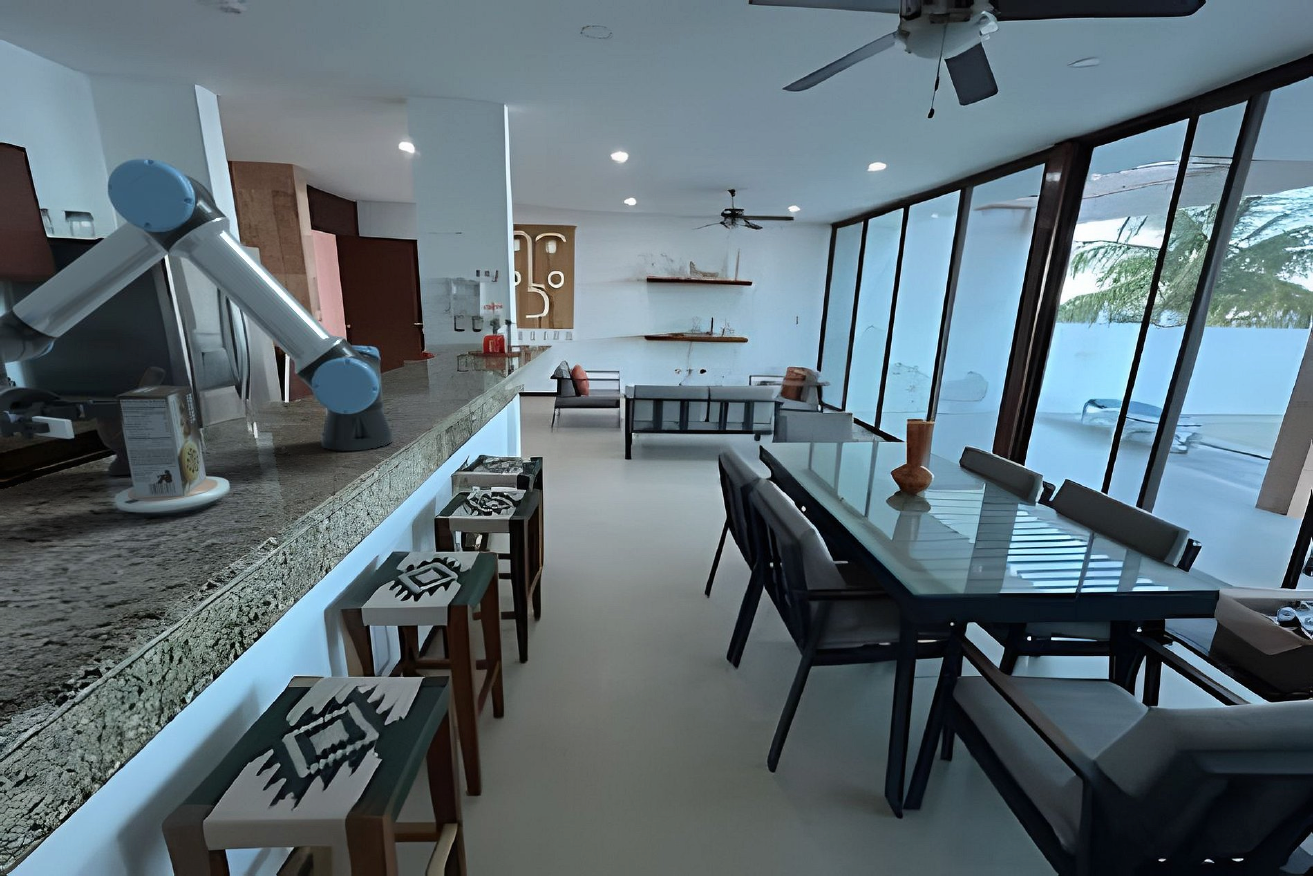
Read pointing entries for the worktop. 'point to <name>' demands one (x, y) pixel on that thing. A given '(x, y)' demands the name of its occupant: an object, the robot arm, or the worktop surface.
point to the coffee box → (162, 440)
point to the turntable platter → (197, 496)
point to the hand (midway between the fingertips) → (121, 420)
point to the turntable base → (176, 511)
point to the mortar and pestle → (113, 429)
